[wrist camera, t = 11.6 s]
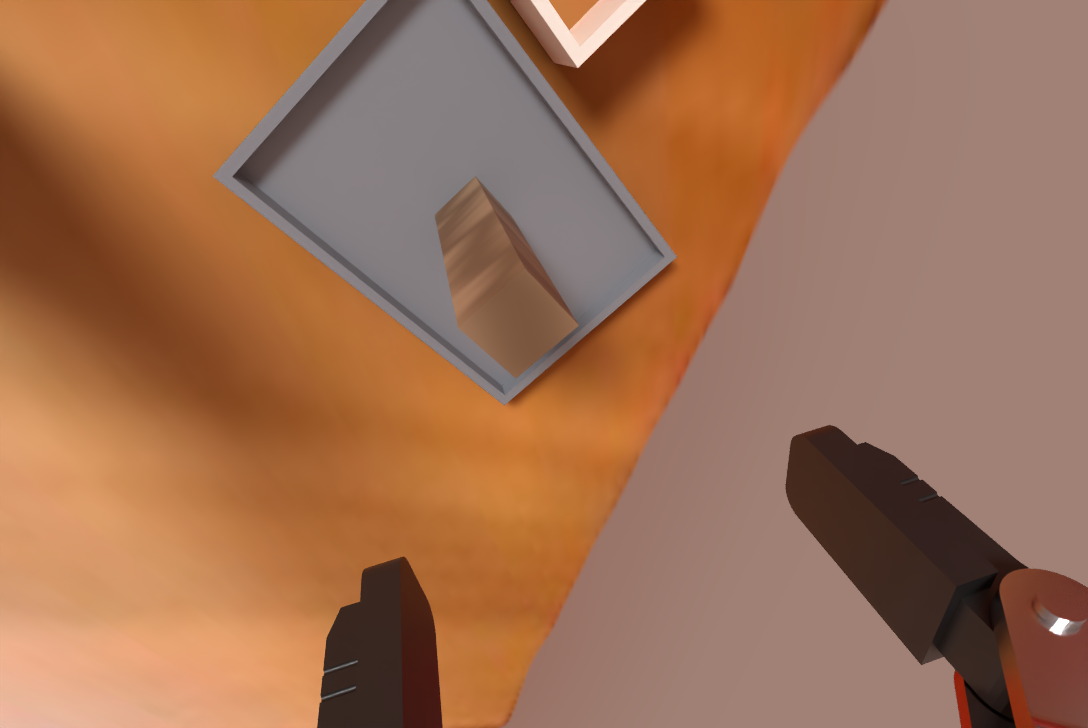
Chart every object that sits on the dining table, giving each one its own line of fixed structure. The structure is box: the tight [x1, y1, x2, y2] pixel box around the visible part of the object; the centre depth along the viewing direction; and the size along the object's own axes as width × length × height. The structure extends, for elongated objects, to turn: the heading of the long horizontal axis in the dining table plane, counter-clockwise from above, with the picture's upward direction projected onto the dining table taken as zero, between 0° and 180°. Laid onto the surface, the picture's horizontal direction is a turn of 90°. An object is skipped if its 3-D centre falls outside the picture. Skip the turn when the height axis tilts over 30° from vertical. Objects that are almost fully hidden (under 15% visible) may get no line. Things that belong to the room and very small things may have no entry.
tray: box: [213, 0, 677, 405], centre depth 31 cm, size 15×21×2 cm
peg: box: [435, 176, 579, 378], centre depth 25 cm, size 3×3×14 cm
